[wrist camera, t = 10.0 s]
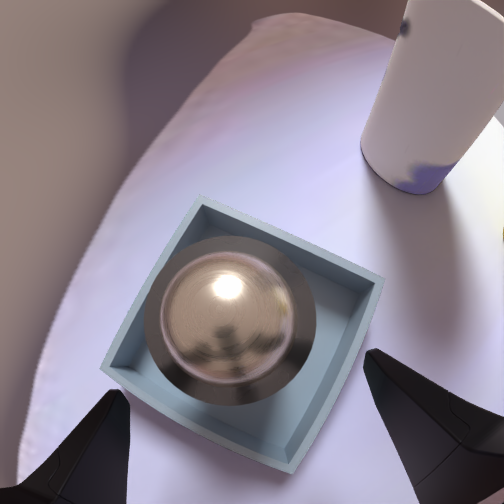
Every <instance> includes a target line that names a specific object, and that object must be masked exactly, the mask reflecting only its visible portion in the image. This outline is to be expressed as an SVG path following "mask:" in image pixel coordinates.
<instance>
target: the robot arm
mask: <svg viewBox="0 0 504 504" xmlns="http://www.w3.org/2000/svg"><path fill="white" fill-rule="evenodd" d="M363 370H364V373H365V376H366V379H367V382H368V385H369V387H370V390H371V393H372V396H373V399H374V402H375V405H376V407H377V409H378V411H379V413H380V416H381V418H382V420H383V422H384V424H385V426H386V428H387V430H388V432H389V435H390V437H391V439H392V441H393V443H394V445H395V448H396V450H397V452H398V454H399V456H400V459H401V461H402V463H403V465H404V468H405V470H406V472H407V475H408V477H409V479H410V482H411V484H412V486H413V489H414V491H415V494H416V496H417V498H418V501H419V503H420V504H504V417H503V416H500V415H497V414H495V413H492V412H490V411H488V410H485V409H483V408H481V407H478V406H476V405H474V404H472V403H470V402H467V401H465V400H464V399H462V398H460V397H458V396H456V395H455V394H453V393H451V392H448V390H446V389H444V388H443V387H441V386H439V385H438V384H436V383H434V382H432V381H431V380H429V379H427V378H426V377H424V376H422V375H421V374H419V373H417V372H416V371H414V370H412V369H411V368H409V367H407V366H406V365H404V364H402V363H401V362H399V361H397V360H396V359H394V358H393V357H391V356H389V355H388V354H386V353H384V352H383V351H381V350H379V349H377V348H374V349H371V350H368V351H367V352H366V354H365V359H364V364H363ZM129 449H130V404H129V402H128V400H127V399H126V397H125V396H124V395H123V393H122V392H121V391H120V390H119V389H110V390H109V391H108V392H107V393H106V394H105V395H104V396H103V397H102V398H101V399H100V400H99V401H98V403H97V404H96V405H95V406H94V407H93V408H92V409H91V410H90V412H89V413H88V414H87V415H86V416H85V417H84V418H83V419H82V420H81V422H80V423H79V424H78V425H77V426H76V427H75V428H74V429H73V431H72V432H71V433H70V434H69V435H68V436H67V437H66V438H65V440H64V441H63V442H62V443H61V444H60V445H59V446H58V448H57V449H56V450H55V451H54V452H53V453H52V454H51V455H50V456H49V457H48V458H47V460H46V461H45V462H44V463H43V464H42V465H40V466H39V467H38V468H37V469H36V470H35V471H34V472H33V473H32V474H31V475H30V476H29V477H27V478H26V479H25V480H24V481H23V482H22V483H20V484H19V485H16V486H13V487H6V488H0V504H126V497H127V475H128V461H129Z"/></svg>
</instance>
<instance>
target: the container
mask: <svg viewBox="0 0 504 504" xmlns="http://www.w3.org/2000/svg"><path fill="white" fill-rule="evenodd" d="M503 101H504V17H503V16H501V15H500V14H499V13H498V12H496V11H495V10H493V9H492V8H491V7H489V6H488V5H486V4H484V3H483V2H481V1H480V0H408V3H407V7H406V10H405V13H404V17H403V20H402V23H401V27H400V33H399V34H398V36H397V39H396V42H395V45H394V48H393V51H392V54H391V57H390V60H389V63H388V66H387V69H386V72H385V75H384V77H383V80H382V83H381V86H380V88H379V91H378V94H377V97H376V99H375V102H374V105H373V107H372V110H371V112H370V115H369V118H368V120H367V123H366V125H365V128H364V130H363V133H362V135H361V148H362V152H363V154H364V156H365V158H366V160H367V162H368V163H369V165H370V166H371V167H372V169H373V170H374V171H375V172H376V173H377V174H378V175H379V176H380V177H381V178H382V179H384V180H385V181H386V182H388V183H389V184H391V185H392V186H394V187H396V188H398V189H400V190H402V191H405V192H408V193H412V194H426V193H429V192H431V191H433V190H434V189H435V188H436V187H437V186H438V185H439V184H440V183H441V181H442V180H443V179H444V178H445V177H446V176H447V174H448V173H449V172H450V171H451V170H452V169H453V167H454V166H455V165H456V164H457V162H458V161H459V160H460V159H461V158H462V156H463V155H464V154H465V153H466V151H467V150H468V149H469V148H470V146H471V145H472V144H473V143H474V141H475V140H476V139H477V137H478V136H479V135H480V133H481V132H482V131H483V129H484V128H485V127H486V125H487V124H488V123H489V121H490V120H491V118H492V117H493V116H494V114H495V113H496V111H497V110H498V108H499V107H500V106H501V104H502V103H503Z"/></svg>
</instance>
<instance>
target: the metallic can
mask: <svg viewBox="0 0 504 504" xmlns="http://www.w3.org/2000/svg"><path fill="white" fill-rule="evenodd" d="M316 326H317V323H316V308H315V302H314V298H313V295H312V292H311V289H310V287H309V285H308V283H307V281H306V279H305V277H304V276H303V274H302V272H301V271H300V270H299V269H298V267H297V266H296V265H295V264H294V263H293V262H292V261H291V260H290V259H289V258H288V257H287V256H286V255H284V254H283V253H282V252H280V251H279V250H278V249H276V248H274V247H272V246H271V245H269V244H266V243H264V242H262V241H259V240H256V239H252V238H248V237H242V236H219V237H213V238H209V239H205V240H202V241H199V242H196V243H194V244H192V245H190V246H188V247H186V248H185V249H183V250H182V251H180V252H179V253H177V254H176V255H175V256H174V257H173V258H172V259H170V260H169V261H168V262H167V263H166V265H165V266H164V267H163V268H162V269H161V271H160V272H159V274H158V275H157V276H156V278H155V280H154V282H153V284H152V286H151V288H150V291H149V293H148V296H147V300H146V304H145V310H144V332H145V338H146V342H147V346H148V349H149V352H150V354H151V356H152V358H153V360H154V362H155V364H156V365H157V367H158V369H159V370H160V371H161V373H162V374H163V375H164V376H165V377H166V379H167V380H168V381H170V382H171V383H172V384H173V385H174V386H175V387H176V388H178V389H179V390H181V391H182V392H183V393H185V394H187V395H189V396H191V397H193V398H195V399H197V400H200V401H203V402H205V403H210V404H214V405H222V406H238V405H245V404H250V403H254V402H257V401H260V400H263V399H265V398H267V397H269V396H271V395H273V394H275V393H277V392H278V391H279V390H281V389H282V388H284V387H285V386H286V385H287V384H288V383H289V382H291V381H292V380H293V379H294V378H295V376H296V375H297V374H298V373H299V371H300V370H301V369H302V367H303V366H304V364H305V362H306V361H307V359H308V356H309V354H310V352H311V349H312V346H313V343H314V339H315V334H316Z"/></svg>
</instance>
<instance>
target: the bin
mask: <svg viewBox="0 0 504 504" xmlns="http://www.w3.org/2000/svg"><path fill="white" fill-rule="evenodd" d="M219 236H242V237H248V238H252V239H256V240H259V241H262V242H264V243H266V244H269V245H271V246H272V247H274V248H276V249H278V250H279V251H280V252H282V253H283V254H284V255H286V256H287V257H288V258H289V259H290V260H291V261H292V262H293V263H294V264H295V265H296V266H297V267H298V269H299V270H300V271H301V272H302V274H303V276H304V277H305V279H306V281H307V283H308V285H309V287H310V289H311V292H312V295H313V298H314V302H315V308H316V323H317V326H316V334H315V339H314V343H313V346H312V349H311V352H310V354H309V356H308V359H307V361H306V362H305V364H304V366H303V367H302V369H301V370H300V371H299V373H298V374H297V375H296V376H295V378H294V379H293V380H292V381H291V382H289V383H288V384H287V385H286V386H285V387H284V388H282V389H281V390H279V391H278V392H277V393H275V394H273V395H271V396H269V397H267V398H265V399H263V400H260V401H257V402H254V403H250V404H245V405H238V406H222V405H214V404H210V403H205V402H203V401H200V400H197V399H195V398H193V397H191V396H189V395H187V394H185V393H183V392H182V391H181V390H179V389H178V388H176V387H175V386H174V385H173V384H172V383H171V382H170V381H168V380H167V379H166V377H165V376H164V375H163V374H162V373H161V371H160V370H159V369H158V367H157V365H156V364H155V362H154V360H153V358H152V356H151V354H150V352H149V349H148V346H147V342H146V338H145V332H144V310H145V304H146V300H147V296H148V293H149V291H150V288H151V286H152V284H153V282H154V280H155V278H156V276H157V275H158V274H159V272H160V271H161V269H162V268H163V267H164V266H165V265H166V263H167V262H168V261H169V260H170V259H172V258H173V257H174V256H175V255H176V254H177V253H179V252H180V251H182V250H183V249H185V248H186V247H188V246H190V245H192V244H194V243H196V242H199V241H202V240H205V239H209V238H213V237H219ZM384 282H385V278H383V277H381V276H379V275H377V274H375V273H373V272H371V271H369V270H367V269H365V268H363V267H361V266H358V265H356V264H354V263H352V262H350V261H348V260H346V259H344V258H342V257H340V256H337V255H335V254H333V253H331V252H329V251H327V250H325V249H323V248H320V247H318V246H316V245H314V244H312V243H310V242H307V241H305V240H303V239H301V238H299V237H296V236H294V235H292V234H290V233H288V232H285V231H283V230H281V229H279V228H277V227H274V226H272V225H270V224H268V223H265V222H263V221H261V220H258V219H256V218H254V217H252V216H249V215H247V214H245V213H242V212H240V211H238V210H236V209H233V208H231V207H229V206H226V205H224V204H221V203H219V202H217V201H214V200H212V199H210V198H207V197H205V196H203V195H200V194H199V196H198V197H197V199H196V200H195V202H194V203H193V205H192V206H191V208H190V209H189V211H188V213H187V214H186V216H185V217H184V219H183V220H182V222H181V223H180V225H179V226H178V228H177V230H176V231H175V233H174V234H173V236H172V238H171V239H170V241H169V242H168V244H167V246H166V247H165V249H164V251H163V252H162V254H161V255H160V257H159V259H158V260H157V262H156V264H155V266H154V267H153V269H152V271H151V272H150V274H149V276H148V277H147V279H146V281H145V283H144V284H143V286H142V288H141V290H140V291H139V293H138V295H137V297H136V299H135V300H134V302H133V304H132V306H131V308H130V310H129V311H128V313H127V315H126V317H125V319H124V321H123V323H122V325H121V326H120V328H119V330H118V332H117V334H116V336H115V338H114V340H113V342H112V344H111V346H110V348H109V350H108V352H107V354H106V356H105V358H104V360H103V362H102V364H101V366H100V370H102V371H103V372H104V373H105V374H107V375H108V376H109V377H110V378H112V379H113V380H114V381H116V382H117V383H118V384H120V385H121V386H122V387H124V388H125V389H126V390H128V391H129V392H131V393H132V394H133V395H135V396H136V397H138V398H139V399H141V400H142V401H144V402H145V403H147V404H148V405H150V406H151V407H153V408H154V409H156V410H157V411H159V412H161V413H162V414H164V415H165V416H167V417H169V418H170V419H172V420H174V421H175V422H177V423H179V424H181V425H182V426H184V427H186V428H188V429H189V430H191V431H193V432H195V433H197V434H199V435H201V436H202V437H204V438H206V439H208V440H210V441H212V442H214V443H216V444H218V445H220V446H222V447H225V448H227V449H229V450H231V451H233V452H235V453H238V454H240V455H242V456H245V457H247V458H249V459H252V460H254V461H257V462H259V463H262V464H264V465H267V466H270V467H272V468H275V469H278V470H281V471H284V472H286V473H289V474H292V475H293V473H294V472H295V470H296V469H297V467H298V465H299V464H300V462H301V461H302V459H303V458H304V456H305V454H306V453H307V451H308V450H309V448H310V446H311V445H312V443H313V441H314V440H315V438H316V436H317V434H318V433H319V431H320V429H321V427H322V426H323V424H324V422H325V420H326V418H327V416H328V415H329V413H330V411H331V409H332V407H333V405H334V403H335V401H336V399H337V397H338V395H339V393H340V391H341V389H342V387H343V385H344V383H345V381H346V379H347V376H348V374H349V372H350V370H351V368H352V366H353V363H354V361H355V359H356V356H357V354H358V352H359V349H360V347H361V345H362V342H363V340H364V337H365V335H366V332H367V330H368V327H369V324H370V322H371V319H372V316H373V314H374V311H375V308H376V305H377V302H378V300H379V297H380V294H381V291H382V288H383V285H384Z"/></svg>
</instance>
